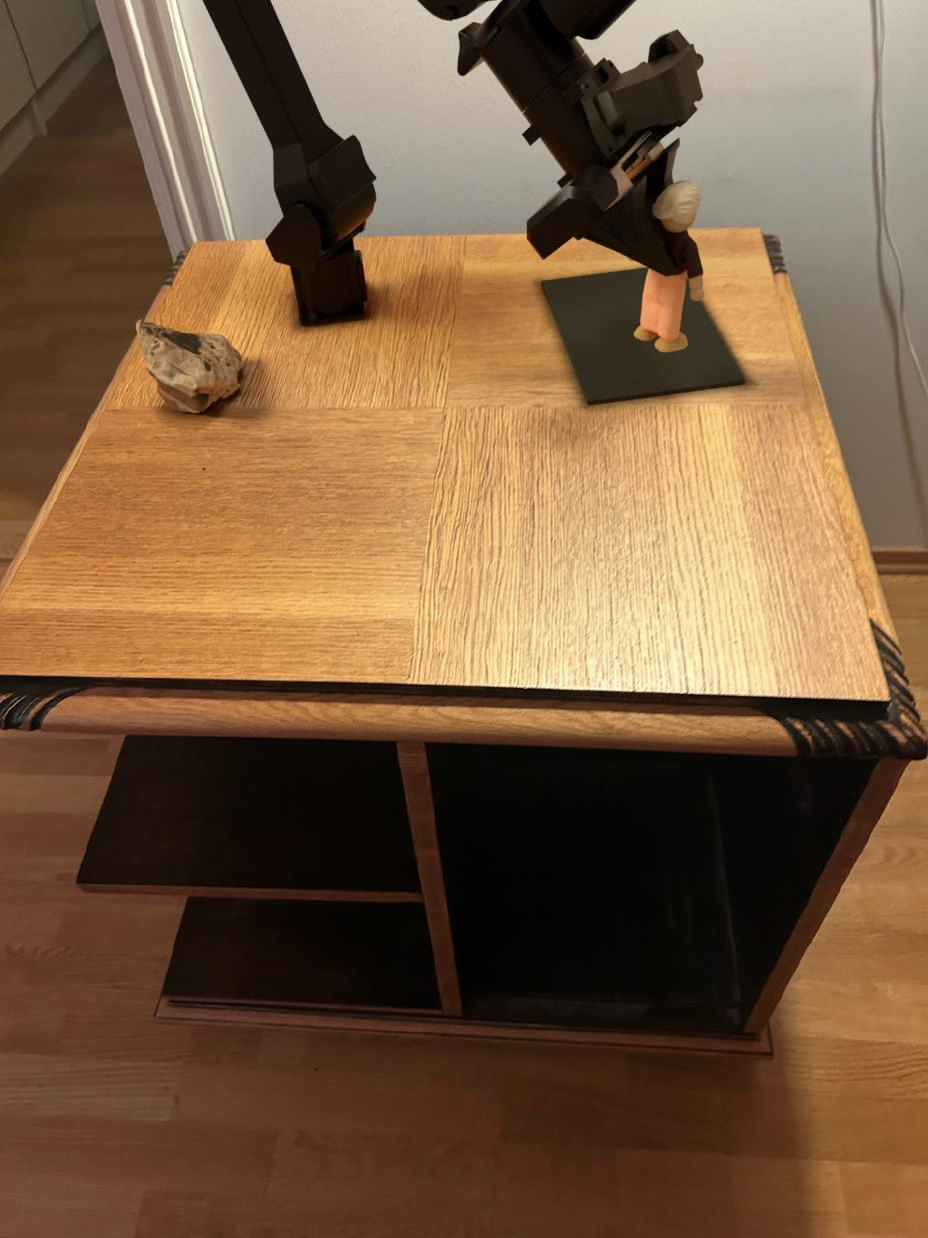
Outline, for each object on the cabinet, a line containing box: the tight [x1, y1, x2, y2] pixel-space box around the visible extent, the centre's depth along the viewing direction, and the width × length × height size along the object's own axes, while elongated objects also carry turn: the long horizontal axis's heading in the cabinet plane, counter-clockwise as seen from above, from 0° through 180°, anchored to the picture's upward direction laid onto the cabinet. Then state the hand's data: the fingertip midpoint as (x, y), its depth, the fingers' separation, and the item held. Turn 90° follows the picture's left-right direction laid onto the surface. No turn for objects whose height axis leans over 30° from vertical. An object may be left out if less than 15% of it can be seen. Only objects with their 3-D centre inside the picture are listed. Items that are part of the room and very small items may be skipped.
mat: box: [540, 266, 746, 406], centre depth 86 cm, size 14×20×1 cm
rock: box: [135, 319, 245, 414], centre depth 81 cm, size 9×7×10 cm
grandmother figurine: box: [626, 179, 705, 352], centre depth 71 cm, size 8×4×13 cm, turn 51°
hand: (680, 263), depth 70 cm, fingers closed on grandmother figurine, 3 cm apart
